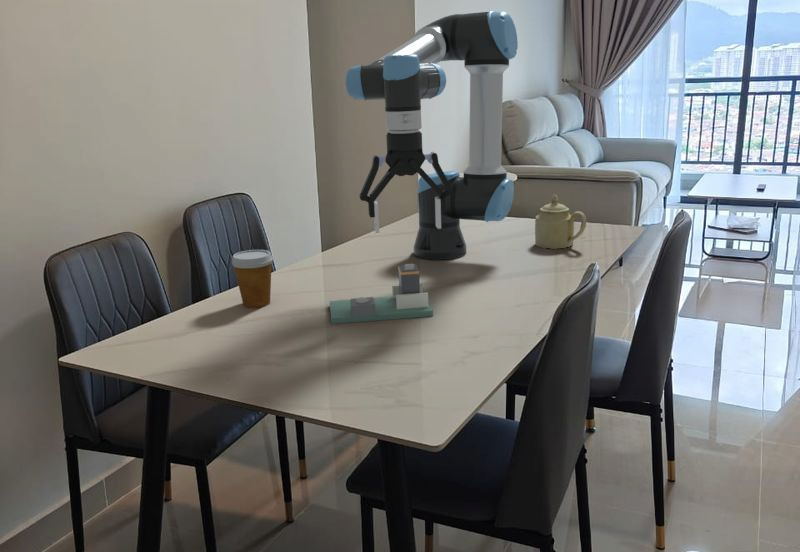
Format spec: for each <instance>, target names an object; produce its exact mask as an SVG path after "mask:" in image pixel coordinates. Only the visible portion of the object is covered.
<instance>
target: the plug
mask: <svg viewBox="0 0 800 552" xmlns="http://www.w3.org/2000/svg"><path fill="white" fill-rule="evenodd" d="M397 269H398V285H399V295H401V294H415V293H420V283H421V282H420V270H419V267H418V266H417V264H416V263H415V264H414V263H405V264H402V265H400V264H399V265H398V266H397Z"/></svg>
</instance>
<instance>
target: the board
mask: <svg viewBox="0 0 800 552" xmlns="http://www.w3.org/2000/svg"><path fill="white" fill-rule="evenodd" d="M391 290H392V293H391V294H392V295H391V296H383V297H382V296H381V297H380V296H378V297H373V296H368V297H358V298H357V297H356V298H355V297H354V298H350V299H341V300H339V299H338V300H329V309H330V310H329V311H330V319H331V320H330V321H331V325H333V324H336V325H337V324H346V323H359V322H360V323H363V322H372V321H384V320H385V321H387V320H398V319H399V320H400V319H410V318H422V317H423V318H424V317H433V316H434V309H433V308H432V306H431V305H430V303H429V292H424V285H423V282H420V293H415V294H401V295H399V284H392V285H391Z"/></svg>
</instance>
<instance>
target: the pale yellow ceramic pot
mask: <svg viewBox="0 0 800 552" xmlns="http://www.w3.org/2000/svg"><path fill="white" fill-rule="evenodd" d="M558 201H559V197H558V196H557V194H553V195H552V197H551V203H548V204H545V205H543V206H542V207H540V208H539V210H540V211H541V212H540V213H539V214H537V215H535V221H534V222H535V223H534V233H535V234H534V240H535V241H534V242H535V246H536V245H537V246H536V247H538V248H540V247H542V248H541V249H546V248H550V249H549V250H558V249H557V248H564V249H567V248H566V247H569V248H571V247H572V246H573V245H574V240H576V239H578V238H579V237H580V236H582V235H583V233H584V231H585V230H586V226H587V217H586V215H585V213H584V212H582V211H577V210H576V211H574V212H573V213H572V214H570V213H569V210H570V208H569V207H567V206H566V205H565V204H562V203H558ZM577 215H578V216H579V217H580V221H581V222H580V223H581V224H580V228H579V230H578V231H577V233H576V234H575V235H574V231H575V230H574V229H575V219H576V217H577ZM570 246H571V247H570Z"/></svg>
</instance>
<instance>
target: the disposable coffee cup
mask: <svg viewBox="0 0 800 552" xmlns="http://www.w3.org/2000/svg"><path fill="white" fill-rule="evenodd" d="M273 260H274V257H273V256H272V253H271V251H269V250H267V249H266V250H265V249H250V250H243V251H239V252H236V253H234V254H233V255H232V259H231V264H232V266H233V267H234V268H233V269H234V271H235V276H236V280H237V285H238V289H239V293H240V297H241V301H242V306H243V307H246V308H256V309H257V308H263V307H265V306H268V305H269V304H270V303H271V289H272V285H271V284H272V263H273Z"/></svg>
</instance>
